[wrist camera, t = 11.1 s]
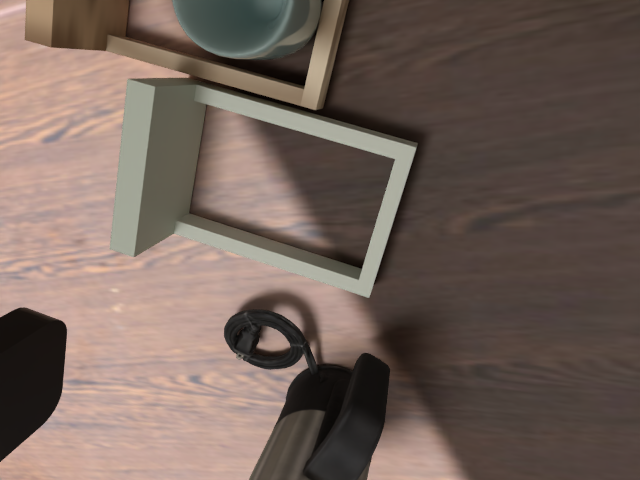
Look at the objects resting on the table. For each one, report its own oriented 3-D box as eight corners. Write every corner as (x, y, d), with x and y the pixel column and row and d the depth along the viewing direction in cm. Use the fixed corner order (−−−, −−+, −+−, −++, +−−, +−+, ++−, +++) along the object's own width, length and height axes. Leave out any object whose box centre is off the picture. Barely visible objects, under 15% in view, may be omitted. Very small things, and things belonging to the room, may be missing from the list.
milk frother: (369, 462, 49) (340, 612, 35) (217, 410, 51) (134, 533, 38) (408, 335, 44) (392, 453, 30) (238, 284, 47) (151, 372, 33)
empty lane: (187, 77, 41) (127, 78, 34) (417, 143, 39) (411, 160, 31) (166, 219, 46) (109, 249, 38) (373, 286, 43) (357, 333, 36)
